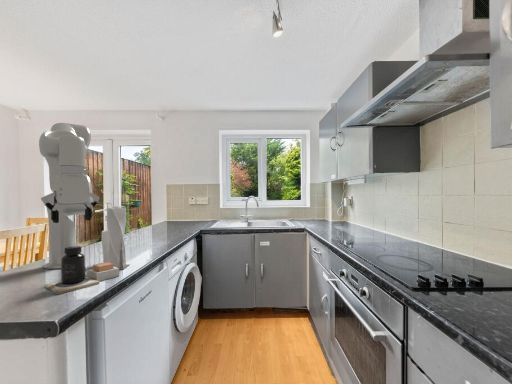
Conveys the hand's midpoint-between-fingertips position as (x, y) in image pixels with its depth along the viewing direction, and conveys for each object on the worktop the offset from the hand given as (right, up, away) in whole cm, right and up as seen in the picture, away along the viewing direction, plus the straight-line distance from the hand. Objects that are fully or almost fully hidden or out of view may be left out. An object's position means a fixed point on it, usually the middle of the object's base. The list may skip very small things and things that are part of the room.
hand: (72, 221), depth 91 cm
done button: (+6, -19, +9) cm, 22 cm away
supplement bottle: (0, -21, 0) cm, 21 cm away
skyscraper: (+4, -23, +22) cm, 32 cm away
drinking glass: (-3, -23, +29) cm, 37 cm away
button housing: (+6, -22, +9) cm, 24 cm away
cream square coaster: (0, -22, 0) cm, 22 cm away
